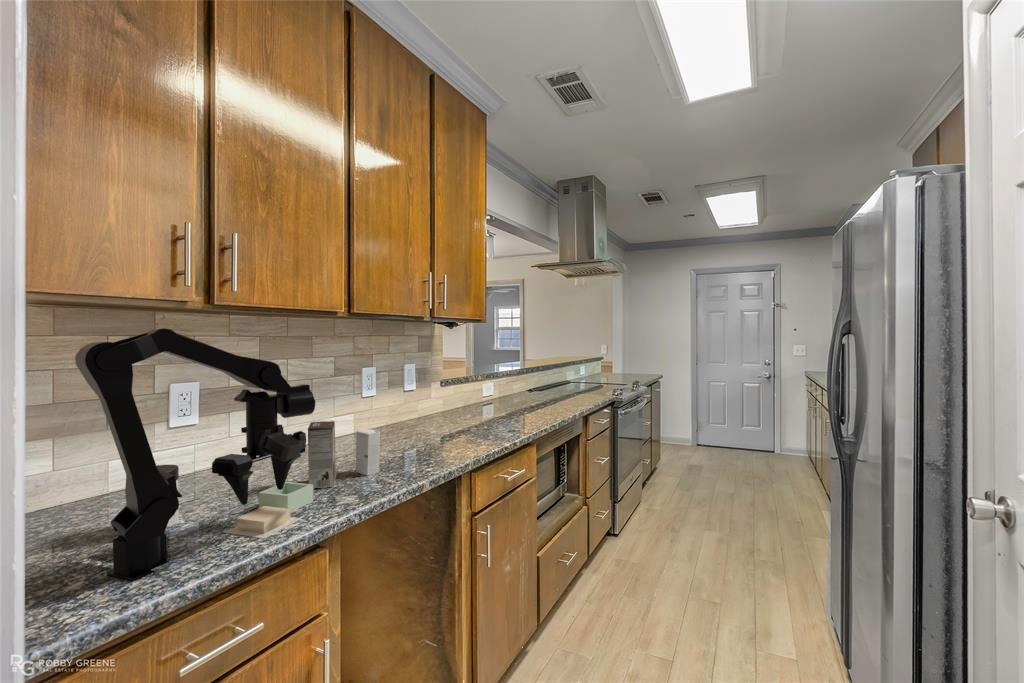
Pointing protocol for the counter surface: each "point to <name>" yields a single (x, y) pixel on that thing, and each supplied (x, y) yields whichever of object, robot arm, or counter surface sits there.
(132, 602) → the counter surface
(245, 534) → the mat
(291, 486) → the sage green tray
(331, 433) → the coffee box
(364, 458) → the skincare box
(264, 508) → the lid
